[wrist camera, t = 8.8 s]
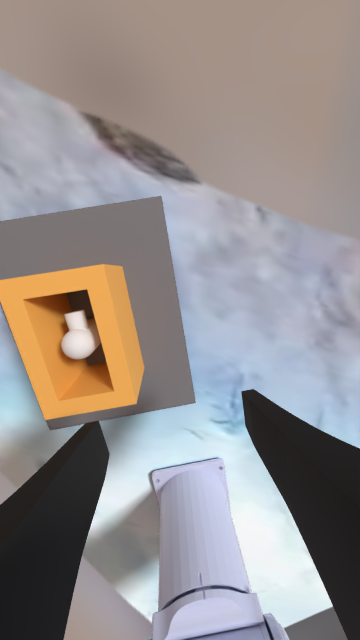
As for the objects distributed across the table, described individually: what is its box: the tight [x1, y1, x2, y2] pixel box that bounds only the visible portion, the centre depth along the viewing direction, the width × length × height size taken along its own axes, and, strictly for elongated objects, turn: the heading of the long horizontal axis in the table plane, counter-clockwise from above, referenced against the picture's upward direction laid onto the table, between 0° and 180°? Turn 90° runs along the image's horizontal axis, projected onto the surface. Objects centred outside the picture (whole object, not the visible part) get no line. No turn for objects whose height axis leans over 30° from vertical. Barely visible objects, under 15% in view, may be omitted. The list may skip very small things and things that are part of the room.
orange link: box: [0, 264, 144, 420], centre depth 14 cm, size 9×6×5 cm, turn 9°
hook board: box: [0, 196, 196, 430], centre depth 15 cm, size 18×14×6 cm
